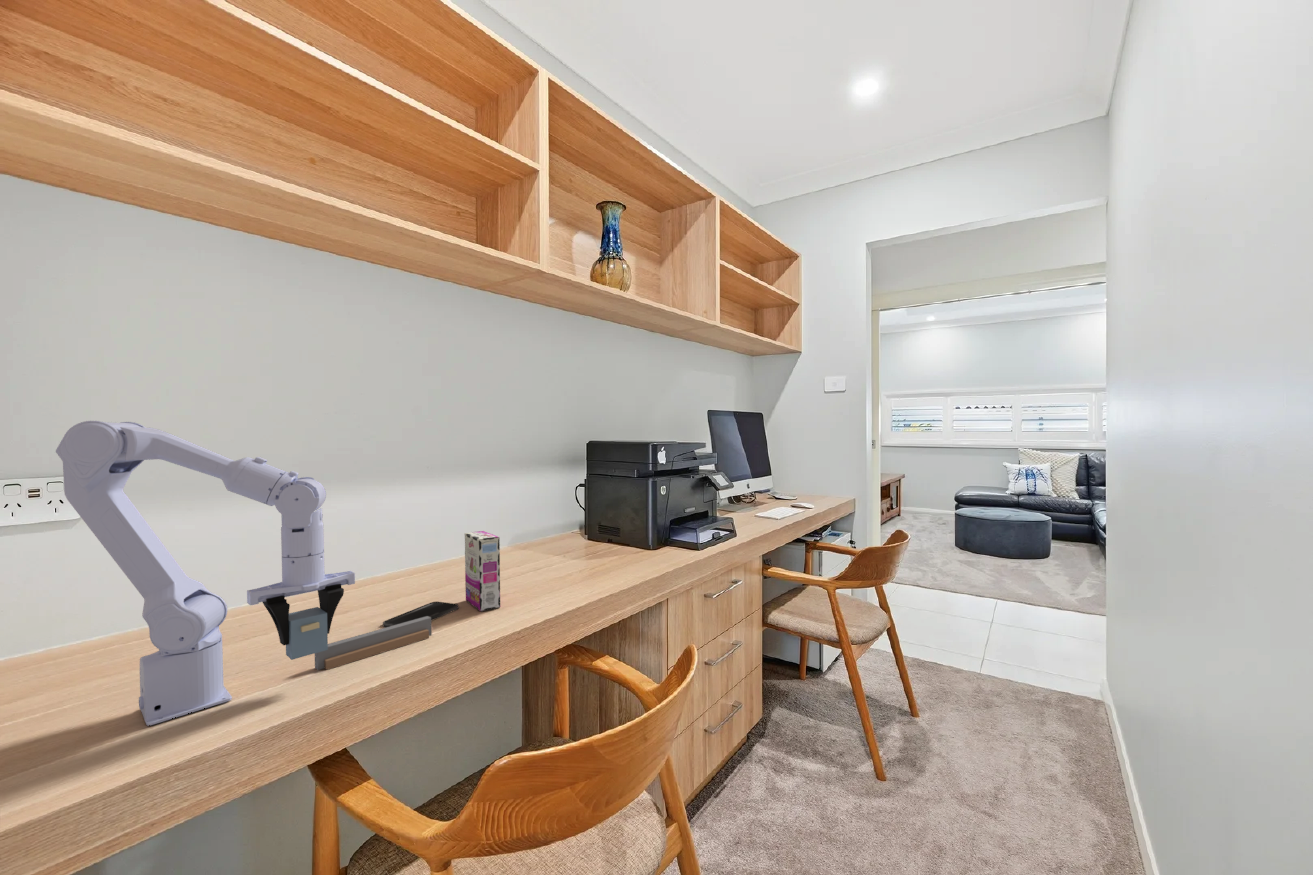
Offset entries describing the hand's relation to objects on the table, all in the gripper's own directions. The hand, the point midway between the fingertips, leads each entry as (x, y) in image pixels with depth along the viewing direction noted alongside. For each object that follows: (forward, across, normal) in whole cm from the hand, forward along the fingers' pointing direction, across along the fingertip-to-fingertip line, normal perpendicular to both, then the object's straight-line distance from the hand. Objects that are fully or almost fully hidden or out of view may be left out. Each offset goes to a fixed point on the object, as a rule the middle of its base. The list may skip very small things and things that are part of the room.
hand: (305, 637), depth 86 cm
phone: (+8, +27, +17) cm, 33 cm away
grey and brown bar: (+8, +13, +6) cm, 16 cm away
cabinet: (+2, 0, 0) cm, 2 cm away
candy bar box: (+8, +40, +14) cm, 43 cm away
